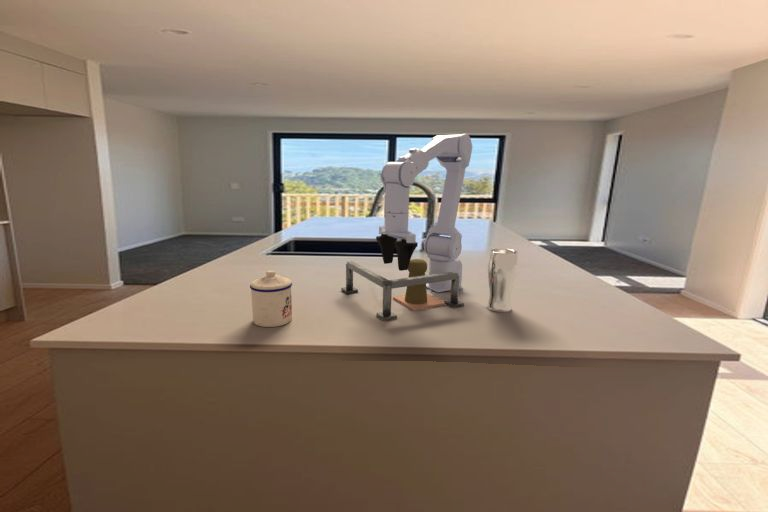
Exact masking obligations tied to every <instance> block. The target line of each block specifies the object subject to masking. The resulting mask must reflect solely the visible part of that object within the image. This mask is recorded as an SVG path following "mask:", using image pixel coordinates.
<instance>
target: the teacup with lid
mask: <svg viewBox="0 0 768 512" xmlns="http://www.w3.org/2000/svg"><path fill="white" fill-rule="evenodd" d="M292 286H293V283H292V280H291V279H290V278H287V277H285V276H284V277H283V276H282V275H279V274H277V273H276V271H275V270H271V269H270V270H267V271H266V272H265V275H263V276H261V277H260V278H257V279H254V280H252V281H251V282H250V285H249V287H250V289H251V307H252V308H251V309H252V322H253V324H254V325H256V326H258V327H263V328H274V327H275V328H276V327H281V326H284V325H286V324H289V323H290V322H291V321H292V320H293V308H292V303H293V302H292V300H293V299H292Z"/></svg>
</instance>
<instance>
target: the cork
mask: <svg viewBox="0 0 768 512" xmlns="http://www.w3.org/2000/svg"><path fill="white" fill-rule="evenodd" d="M427 270H428V263H427V261H426V260H423V259H421V258H413V259H412V258H411V259H410V263H409V266H408V269H407V271H408V277H407V278H410V277H417V276H425V275H426V272H427ZM427 294H428V292H427V287H426V284H421V285H414V286H407V287H406V291H405V294H404V295H405V301H406V302H407V303H411V304H424V303H426V302H427Z"/></svg>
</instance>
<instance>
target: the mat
mask: <svg viewBox="0 0 768 512" xmlns="http://www.w3.org/2000/svg"><path fill="white" fill-rule="evenodd" d="M405 295H406V294H402V295H396V296H393V297H392V300H394V301H396V302H397V303H399V304H401V305H403V306H405V307H406V308H408V310H409V309H410V310H411V311H413V312H414V311H419V310H420V311H421V310H423V309H424V310H425V309H430V308H436V307H440V306H446V305H445V302H444V300H440V298H436V297H435V296H433V295H431V294H429V293H427V302H426V303H424V304H411V303H407V302H406V301H405Z"/></svg>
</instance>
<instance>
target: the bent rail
mask: <svg viewBox="0 0 768 512" xmlns="http://www.w3.org/2000/svg"><path fill="white" fill-rule="evenodd" d="M354 272H355V274H356V273H357V274H358V275H360V276H362V277H363V278H365V279H367V280H368V281H370V282H372V283H374V284H375V285H377V286H379V287H381V288H382V311H378V312H376V317H377V318H379V319H380V320H382V321H383V322H386V320H387V321H392V320H397V319H398V315H397V314H396V313H394V312H393V311H392V295H393V292H392V289H393V290H394V289H398V288H399V289H400V288H405V287H406V288H407V286H414V285H421V284H427V283H434V282H441V281H448V280H451V290H450V296H449V297H450V299H448V300H443V302H445V305H444V306H448V307H450V308H452V309H455V308H460V307H464V306H465V305H464V304H465V303H464V302H463V301H461V300H459V292H460V289H459V277H460V275H458V273H456V272H447V273H440V274H432V275H429V274H427V275H426V274H425V276H417V277H410V278H408V277H404V278H396V279H387V278H386V277H384V276H381V275H380V274H378V273H376V272H374V271H371V270H370V269H368V268H366V267H364V266H362V265H361V264H358V263H356V262H355V261H352V260H351V261H346V264H345V287H341V289H340V290H341V292H343V293H344V294H345V295H349V294H356V293H359V289H358V288H356V287H355V286H354Z"/></svg>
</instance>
